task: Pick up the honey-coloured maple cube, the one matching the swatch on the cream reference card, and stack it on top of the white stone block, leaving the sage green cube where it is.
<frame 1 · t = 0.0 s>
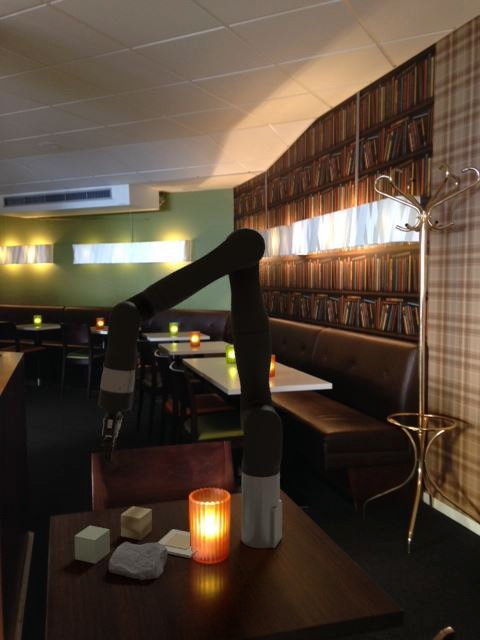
hand: (108, 456, 122), 22 cm above the table, tool pointing down, fingers open, 8 cm apart
sage green cube: (92, 555, 121), on the table
stone block: (137, 570, 116), on the table
maple cube: (136, 533, 132), on the table
reference card: (181, 544, 126), on the table
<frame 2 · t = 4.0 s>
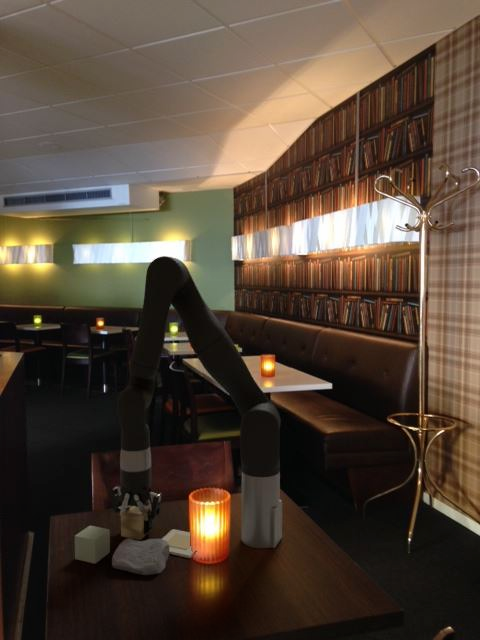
hand: (136, 530, 132), 1 cm above the table, tool pointing down, fingers closed on maple cube, 5 cm apart
stone block: (140, 565, 117), on the table
maple cube: (136, 533, 132), on the table, touching gripper
everything else where it was.
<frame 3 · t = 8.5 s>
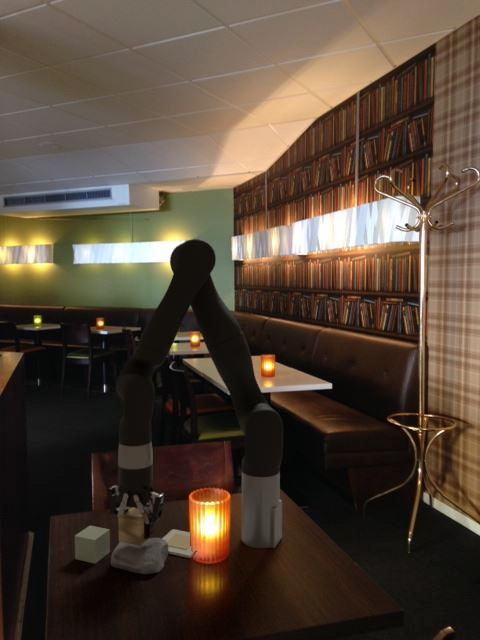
hand: (136, 535, 118), 6 cm above the table, tool pointing down, fingers closed on maple cube, 5 cm apart
maple cube: (136, 537, 118), point 5 cm above the table, touching gripper
when the fingers open (6 cm above the table, at t = 9.4 s): maple cube drops 2 cm, resting on stone block.
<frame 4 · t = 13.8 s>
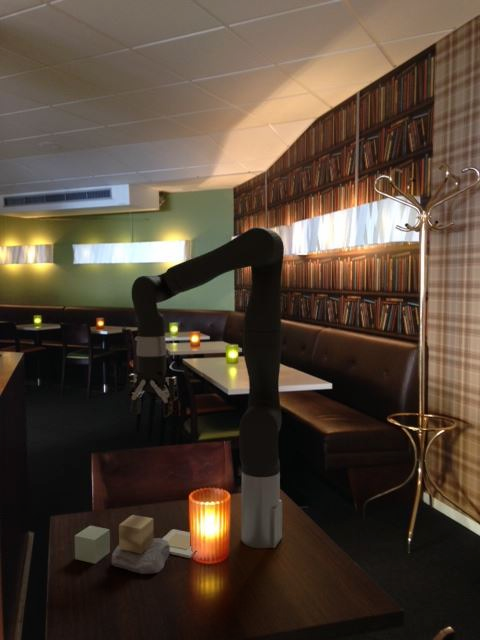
hand: (152, 415, 137), 28 cm above the table, tool pointing down, fingers open, 8 cm apart
stone block: (139, 564, 118), on the table, touching maple cube
maple cube: (136, 545, 118), point 4 cm above the table, touching stone block
everything else where it was.
at the end: maple cube inside the target area on the stone block (0.9 cm from its centre), point 4.2 cm above the stone block's base; maple cube tilted 1°; sage green cube moved 0.1 cm from its start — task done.
